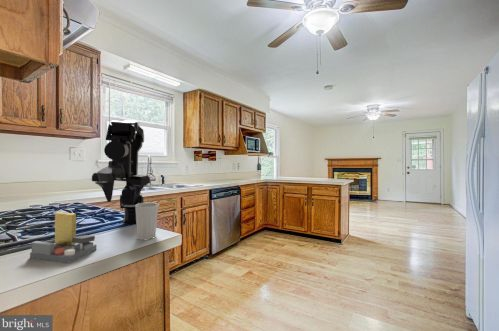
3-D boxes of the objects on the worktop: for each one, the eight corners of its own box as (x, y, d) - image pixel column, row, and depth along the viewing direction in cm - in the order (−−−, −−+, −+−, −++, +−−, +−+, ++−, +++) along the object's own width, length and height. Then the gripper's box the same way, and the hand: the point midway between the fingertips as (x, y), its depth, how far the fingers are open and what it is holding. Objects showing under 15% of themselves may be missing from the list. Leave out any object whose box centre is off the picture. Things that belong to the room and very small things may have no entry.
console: (62, 245, 79) (62, 230, 79) (96, 249, 77) (96, 234, 77) (30, 257, 70) (30, 241, 69) (68, 263, 68) (68, 246, 67)
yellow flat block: (60, 241, 78) (60, 211, 78) (77, 243, 77) (77, 213, 77) (53, 243, 76) (53, 213, 75) (70, 245, 75) (70, 215, 74)
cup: (141, 242, 85) (142, 208, 84) (130, 237, 89) (130, 204, 89) (162, 236, 91) (163, 205, 90) (150, 232, 96) (151, 201, 95)
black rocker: (85, 239, 77) (86, 235, 78) (94, 240, 77) (95, 236, 77) (71, 242, 72) (72, 237, 73) (81, 243, 72) (81, 238, 72)
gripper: (77, 157, 78) (77, 205, 79) (130, 160, 74) (129, 211, 75) (104, 156, 88) (104, 198, 90) (151, 159, 85) (150, 203, 86)
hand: (120, 203), depth 85 cm, fingers open, 9 cm apart
